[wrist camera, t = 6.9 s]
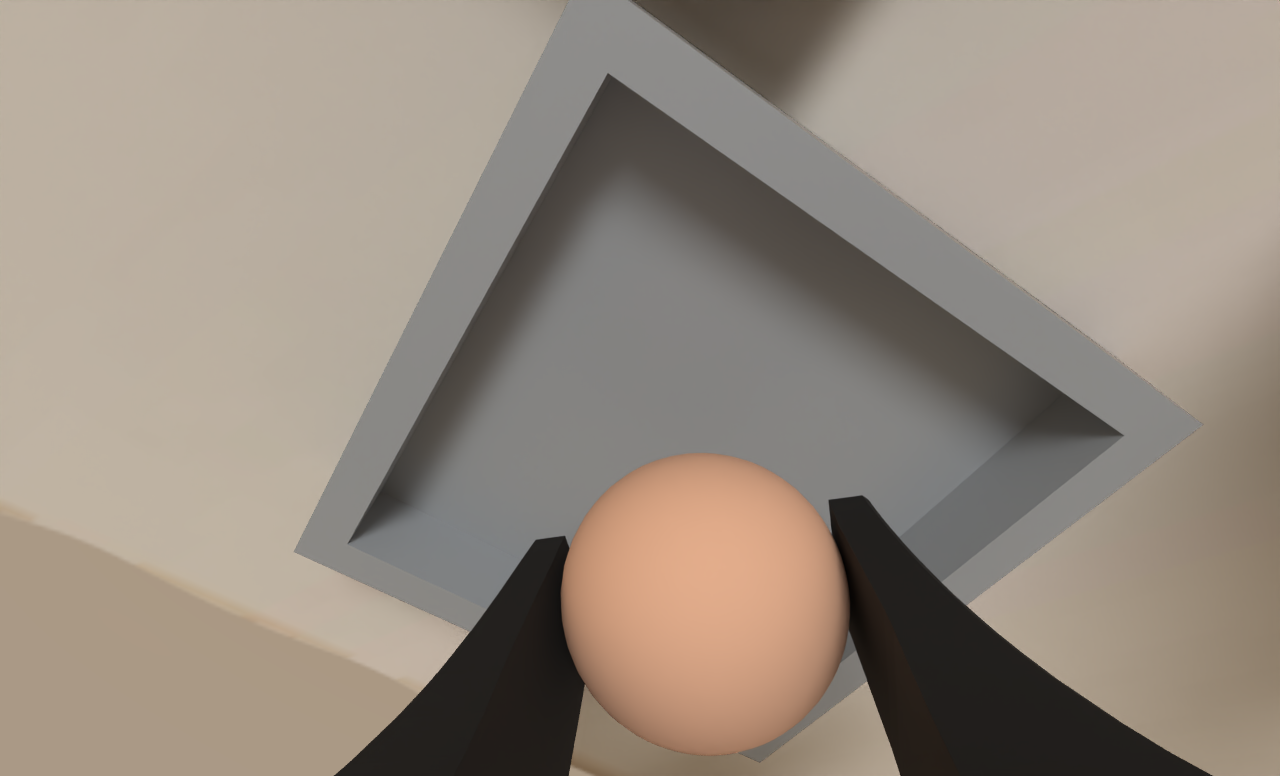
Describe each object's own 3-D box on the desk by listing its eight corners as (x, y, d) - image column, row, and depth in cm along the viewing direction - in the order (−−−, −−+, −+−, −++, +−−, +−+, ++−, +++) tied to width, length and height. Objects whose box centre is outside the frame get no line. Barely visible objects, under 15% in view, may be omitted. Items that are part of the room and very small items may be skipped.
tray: (1119, 360, 15) (1203, 424, 13) (750, 677, 21) (759, 762, 19) (604, -21, 12) (584, -32, 10) (345, 480, 18) (293, 551, 16)
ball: (872, 487, 13) (964, 713, 9) (718, 620, 15) (731, 854, 11) (675, 355, 12) (670, 541, 8) (538, 519, 14) (473, 737, 10)
